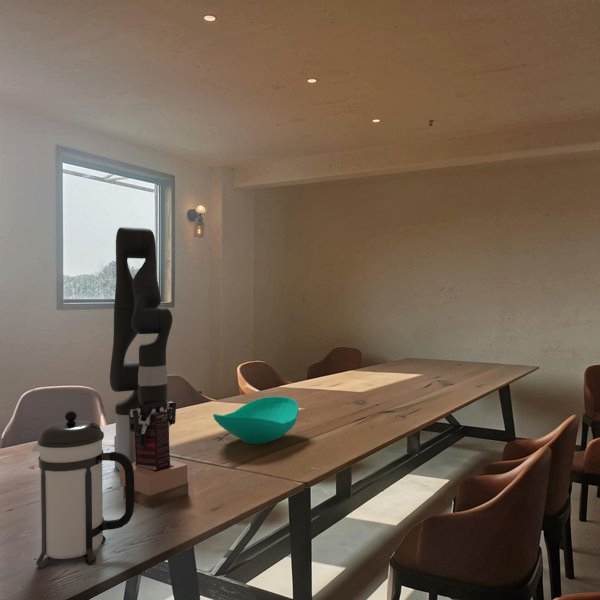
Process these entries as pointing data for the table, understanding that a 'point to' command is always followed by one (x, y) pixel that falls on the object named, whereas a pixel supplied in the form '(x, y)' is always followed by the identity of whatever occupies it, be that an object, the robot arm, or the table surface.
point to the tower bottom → (160, 496)
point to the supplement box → (155, 444)
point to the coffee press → (76, 490)
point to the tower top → (157, 478)
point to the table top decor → (261, 419)
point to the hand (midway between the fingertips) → (153, 444)
